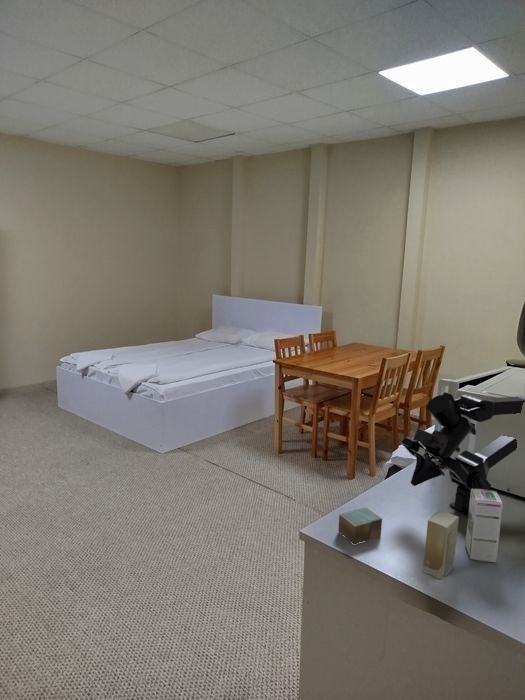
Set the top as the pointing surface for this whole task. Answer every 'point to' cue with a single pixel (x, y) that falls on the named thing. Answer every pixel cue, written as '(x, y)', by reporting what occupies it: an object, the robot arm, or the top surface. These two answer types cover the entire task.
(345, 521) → the walnut block
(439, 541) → the skincare box
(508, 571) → the top surface
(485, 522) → the syrup box
